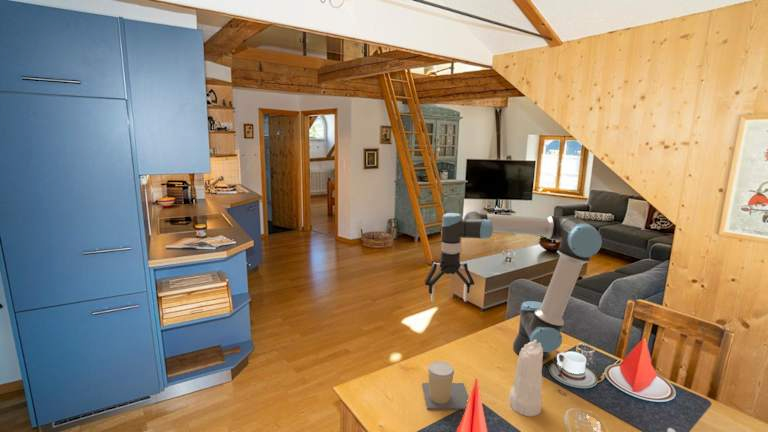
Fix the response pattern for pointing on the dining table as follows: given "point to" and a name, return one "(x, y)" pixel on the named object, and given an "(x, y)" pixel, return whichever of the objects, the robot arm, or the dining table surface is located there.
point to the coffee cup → (440, 381)
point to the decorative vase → (528, 381)
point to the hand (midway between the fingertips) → (448, 300)
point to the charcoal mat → (456, 398)
